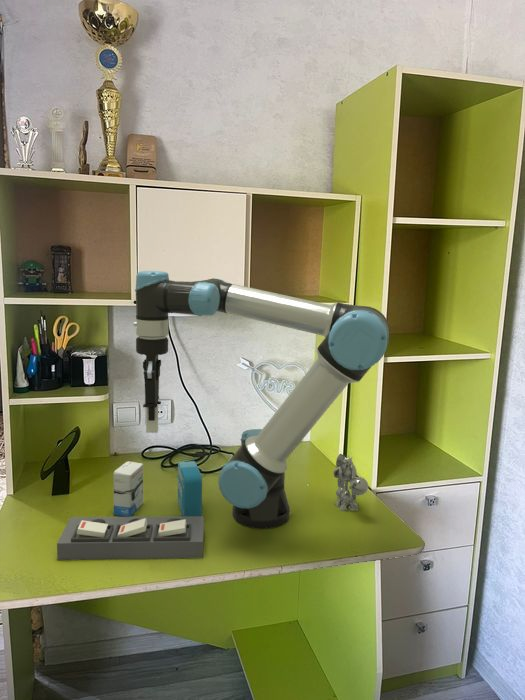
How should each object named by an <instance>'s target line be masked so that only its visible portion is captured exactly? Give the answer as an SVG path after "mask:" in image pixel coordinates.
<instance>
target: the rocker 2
mask: <svg viewBox="0 0 525 700" xmlns="http://www.w3.org/2000/svg"><path fill="white" fill-rule="evenodd" d="M186 525H187V524H186V519H184V520H178V521H173V522H167V523H161V524H160V527H159V532H158V533H159V537H163V536H169V535H175V534H181V533H186Z"/></svg>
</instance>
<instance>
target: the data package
mask: <svg viewBox="0 0 525 700" xmlns="http://www.w3.org/2000/svg"><path fill="white" fill-rule="evenodd" d="M202 476H203V475H202V474H201V471H200V469H199V467H198V465H197V463H196V461H195V460H191V461H189V460H188V461H180V462H178V463H177V503H178V506H179V510H180V511H181V512H180V513H181V515H182V516H203V515H202V512H203V511H202V510H203V507H202V506H203V505H202V504H203V503H202V502H203V477H202Z"/></svg>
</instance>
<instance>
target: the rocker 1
mask: <svg viewBox="0 0 525 700" xmlns="http://www.w3.org/2000/svg"><path fill="white" fill-rule="evenodd" d="M107 527H108V524H104V523H97V522H91V521H84V520H82V521H81V523H80V525H79V527H78V529H77V534H81V535H88V536H95V537H102V538H103V537H104V536H105V534H106V531H107Z"/></svg>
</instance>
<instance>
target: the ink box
mask: <svg viewBox="0 0 525 700" xmlns="http://www.w3.org/2000/svg"><path fill="white" fill-rule="evenodd" d="M112 475H113V515H114V516H118V517H133V515H134V513H136V512H137V510H138V509H139V508H140V507H141V506H142V505H144V504H143V503H144V463H141V462H135V461H125V462H124V463H123V464H121V466H119V467H117V469H115V470H114V472H113V474H112Z"/></svg>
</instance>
